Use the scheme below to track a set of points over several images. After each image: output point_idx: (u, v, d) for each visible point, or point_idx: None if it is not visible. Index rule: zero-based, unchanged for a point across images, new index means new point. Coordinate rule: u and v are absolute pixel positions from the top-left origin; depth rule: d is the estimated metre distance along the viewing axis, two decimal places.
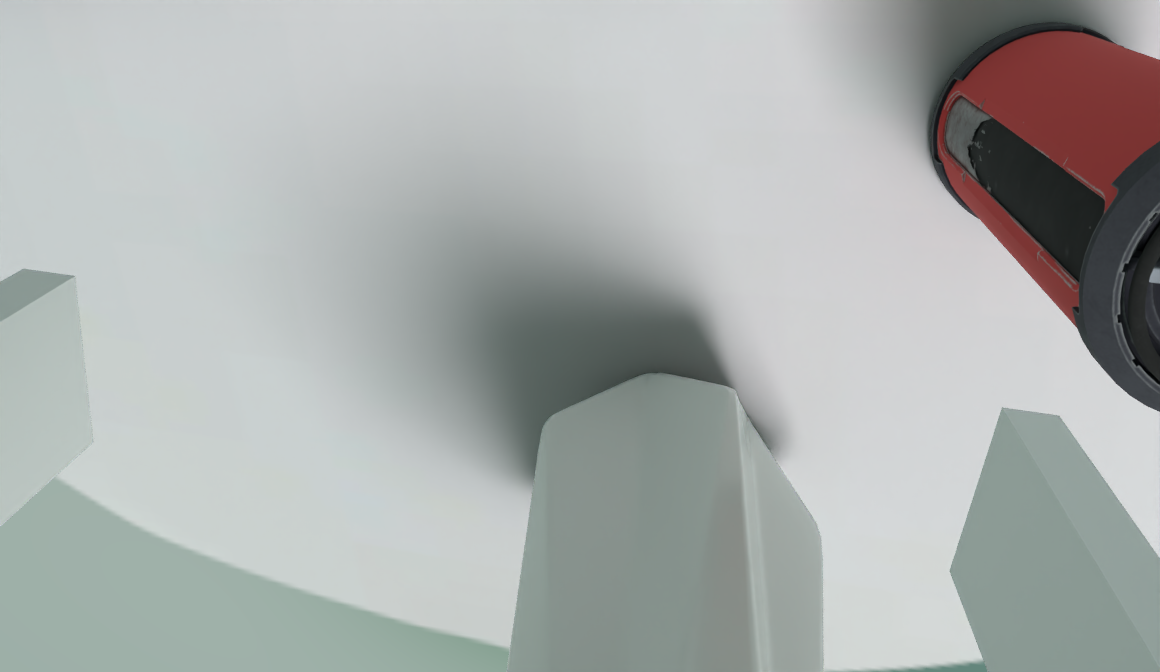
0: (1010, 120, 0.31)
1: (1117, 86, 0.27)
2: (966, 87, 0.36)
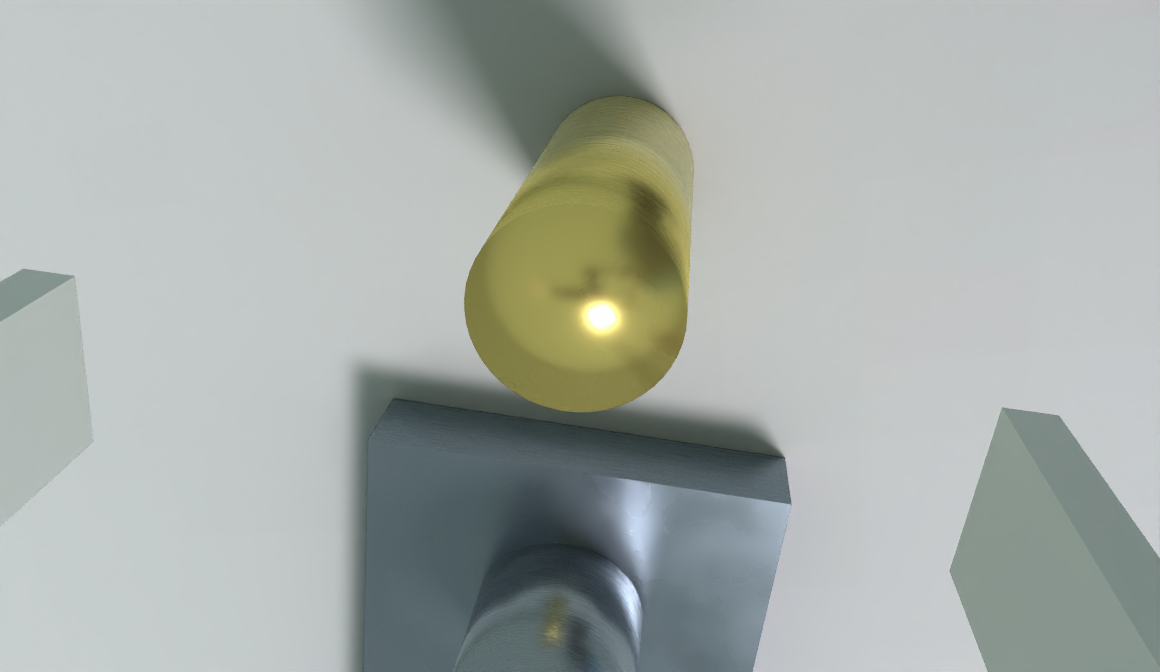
0: None
1: None
2: None
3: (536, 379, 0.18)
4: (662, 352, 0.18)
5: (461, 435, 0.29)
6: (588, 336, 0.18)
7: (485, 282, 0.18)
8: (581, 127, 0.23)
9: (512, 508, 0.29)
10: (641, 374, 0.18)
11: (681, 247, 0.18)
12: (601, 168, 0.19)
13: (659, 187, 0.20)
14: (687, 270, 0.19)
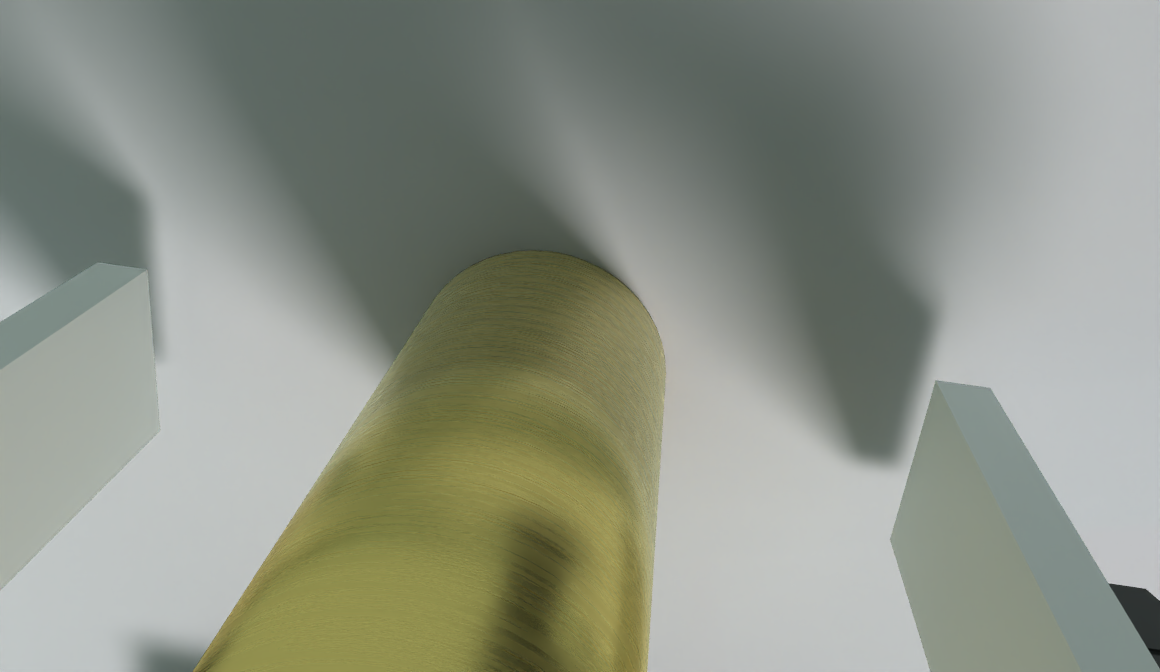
0: None
1: None
2: None
3: None
4: None
5: None
6: None
7: None
8: (444, 350, 0.12)
9: None
10: None
11: None
12: (434, 545, 0.08)
13: (575, 561, 0.09)
14: None
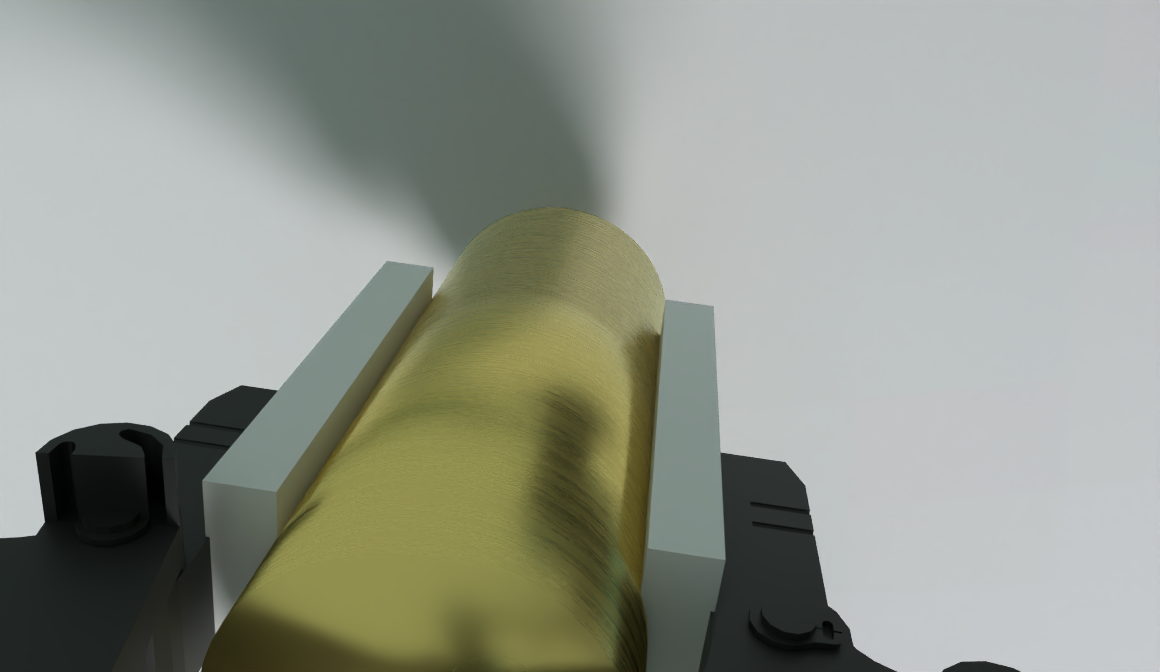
0: None
1: None
2: None
3: None
4: None
5: None
6: None
7: None
8: (480, 281, 0.14)
9: None
10: None
11: (633, 577, 0.10)
12: (487, 409, 0.10)
13: (597, 430, 0.11)
14: (645, 614, 0.10)
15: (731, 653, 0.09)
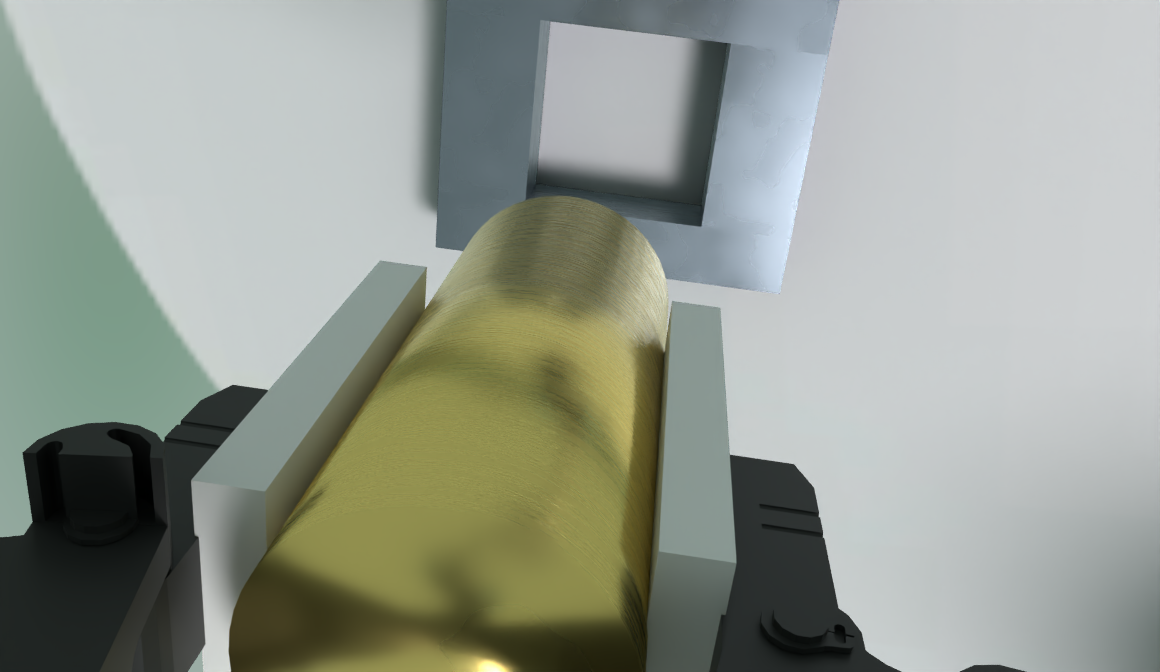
0: None
1: None
2: None
3: None
4: None
5: None
6: None
7: (264, 629, 0.09)
8: (490, 264, 0.15)
9: None
10: None
11: (636, 537, 0.10)
12: (498, 380, 0.11)
13: (602, 402, 0.12)
14: (648, 572, 0.10)
15: (745, 656, 0.09)
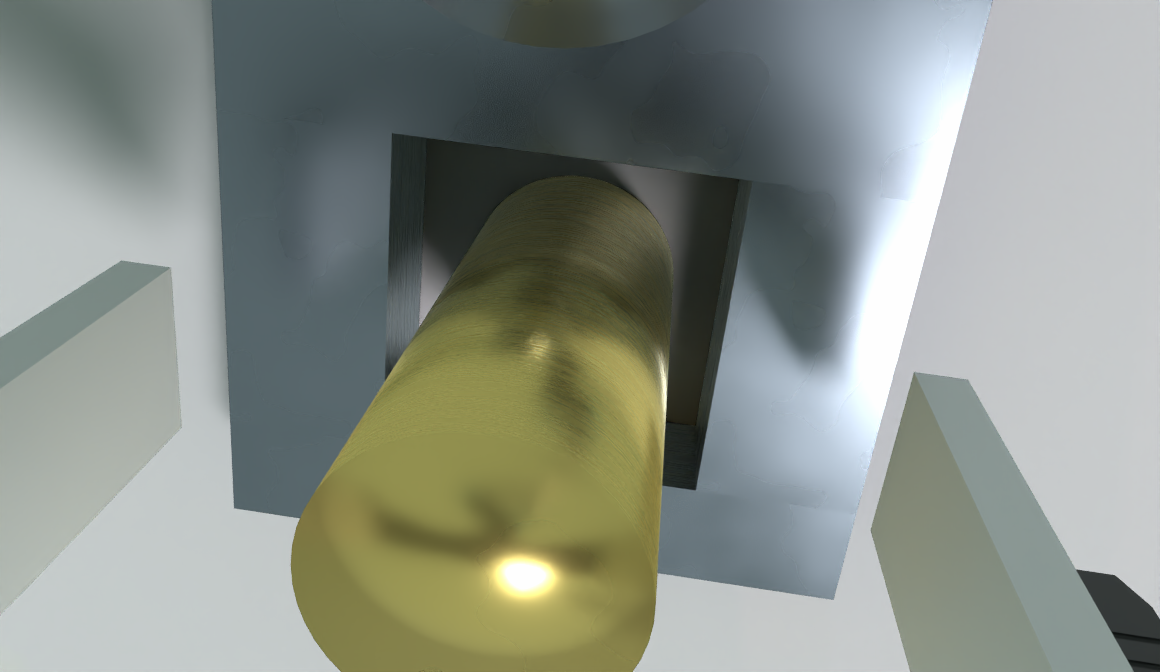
0: None
1: None
2: None
3: None
4: (615, 654, 0.11)
5: None
6: (493, 628, 0.11)
7: (323, 544, 0.11)
8: (510, 236, 0.16)
9: None
10: None
11: (648, 468, 0.12)
12: (524, 332, 0.12)
13: (616, 354, 0.13)
14: (658, 501, 0.12)
15: None
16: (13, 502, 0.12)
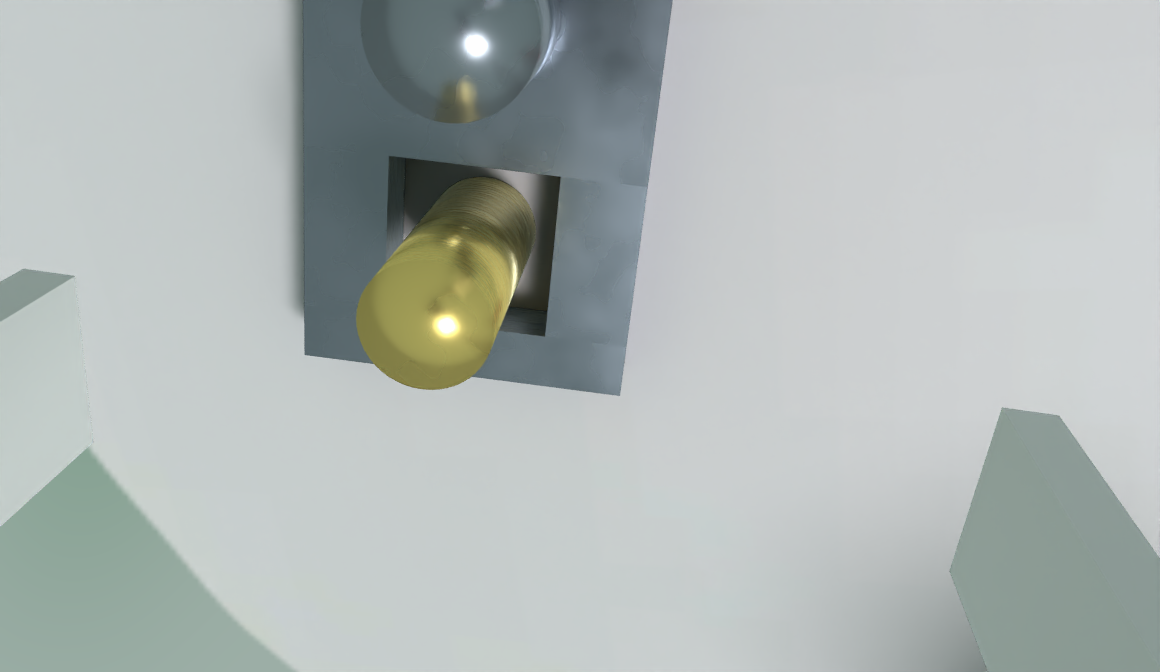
0: None
1: None
2: None
3: (403, 368, 0.29)
4: (480, 350, 0.29)
5: None
6: (434, 341, 0.29)
7: (368, 308, 0.28)
8: (446, 203, 0.34)
9: None
10: (468, 364, 0.29)
11: (495, 285, 0.29)
12: (447, 234, 0.30)
13: (487, 246, 0.31)
14: (500, 299, 0.30)
15: None
16: None
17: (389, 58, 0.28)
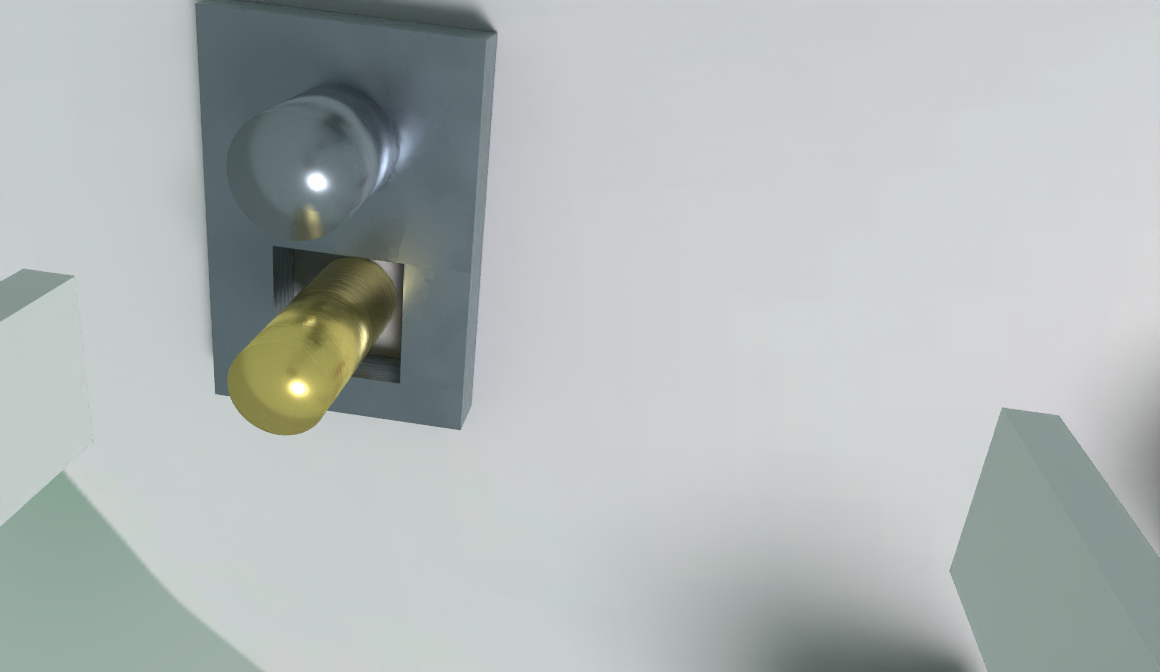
0: None
1: None
2: None
3: (263, 419, 0.39)
4: (318, 407, 0.39)
5: (264, 8, 0.41)
6: (284, 400, 0.39)
7: (236, 376, 0.39)
8: (314, 284, 0.44)
9: (298, 56, 0.41)
10: (311, 417, 0.39)
11: (333, 357, 0.39)
12: (301, 318, 0.40)
13: (333, 325, 0.41)
14: (338, 368, 0.40)
15: None
16: None
17: (248, 194, 0.38)
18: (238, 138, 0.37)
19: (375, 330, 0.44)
